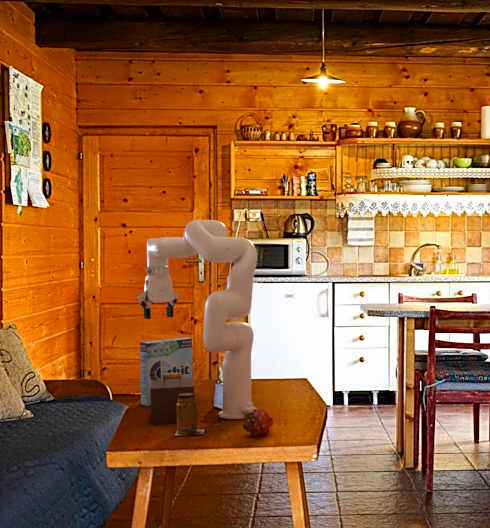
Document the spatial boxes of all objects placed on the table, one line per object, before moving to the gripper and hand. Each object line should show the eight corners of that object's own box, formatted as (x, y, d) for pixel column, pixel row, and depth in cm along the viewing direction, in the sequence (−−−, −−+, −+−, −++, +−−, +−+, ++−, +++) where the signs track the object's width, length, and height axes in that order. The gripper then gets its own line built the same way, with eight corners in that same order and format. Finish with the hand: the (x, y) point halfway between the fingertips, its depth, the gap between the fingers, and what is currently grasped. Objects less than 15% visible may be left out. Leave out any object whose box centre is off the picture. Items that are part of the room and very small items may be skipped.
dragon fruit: (249, 445, 248) (261, 441, 260) (272, 428, 247) (283, 425, 259) (233, 421, 249) (246, 418, 261) (256, 404, 249) (267, 402, 261)
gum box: (186, 397, 319) (185, 337, 318) (194, 399, 315) (193, 338, 314) (140, 404, 305) (139, 341, 305) (147, 406, 302) (146, 342, 301)
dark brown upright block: (194, 388, 273) (193, 372, 273) (150, 391, 270) (150, 374, 270) (192, 380, 290) (192, 365, 290) (151, 382, 287) (151, 367, 287)
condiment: (177, 431, 261) (176, 392, 261) (204, 430, 262) (204, 391, 262) (174, 436, 254) (173, 396, 253) (202, 435, 255) (202, 395, 254)
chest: (194, 422, 274) (194, 388, 274) (151, 424, 271) (150, 390, 271) (193, 412, 290) (192, 380, 290) (152, 414, 287) (151, 382, 287)
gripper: (143, 272, 302) (144, 320, 303) (183, 271, 315) (184, 316, 315) (131, 272, 307) (132, 319, 308) (171, 270, 320) (172, 315, 320)
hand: (158, 318), depth 311 cm, fingers open, 9 cm apart
